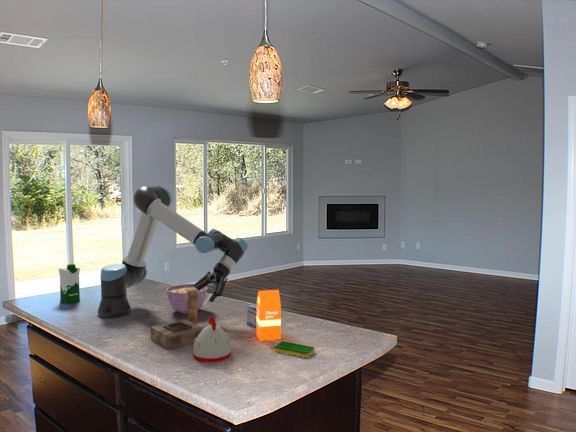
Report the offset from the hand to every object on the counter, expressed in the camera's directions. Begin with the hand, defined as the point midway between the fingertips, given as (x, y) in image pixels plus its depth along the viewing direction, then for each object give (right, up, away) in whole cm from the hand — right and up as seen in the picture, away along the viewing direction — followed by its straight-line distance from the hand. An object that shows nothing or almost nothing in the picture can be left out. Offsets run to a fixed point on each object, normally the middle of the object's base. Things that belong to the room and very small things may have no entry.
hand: (196, 304), depth 212 cm
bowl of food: (-9, -8, +23) cm, 26 cm away
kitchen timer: (+13, -13, -35) cm, 39 cm away
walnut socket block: (-4, -11, -18) cm, 22 cm away
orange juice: (+33, -11, -14) cm, 38 cm away
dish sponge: (+43, -13, -30) cm, 54 cm away
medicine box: (+27, -10, +2) cm, 28 cm away
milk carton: (-75, -6, +39) cm, 85 cm away
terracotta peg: (-2, -10, 0) cm, 10 cm away
